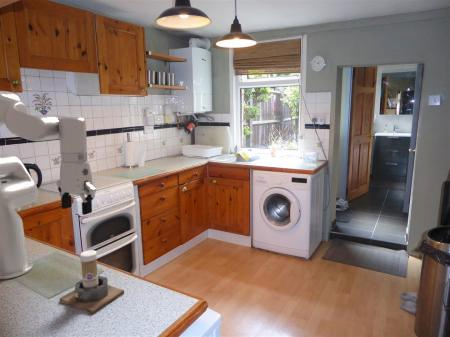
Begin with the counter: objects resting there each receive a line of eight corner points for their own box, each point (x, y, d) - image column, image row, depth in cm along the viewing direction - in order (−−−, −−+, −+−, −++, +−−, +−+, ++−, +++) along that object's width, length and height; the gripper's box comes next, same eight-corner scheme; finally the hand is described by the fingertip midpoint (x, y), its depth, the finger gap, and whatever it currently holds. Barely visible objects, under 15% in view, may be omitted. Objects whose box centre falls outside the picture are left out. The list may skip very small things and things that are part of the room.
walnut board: (59, 301, 99) (59, 298, 98) (92, 282, 109) (92, 279, 109) (93, 314, 92) (92, 311, 92) (124, 293, 103) (123, 290, 103)
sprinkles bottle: (85, 300, 98) (81, 257, 95) (82, 292, 101) (78, 251, 99) (101, 295, 100) (98, 253, 98) (97, 288, 104) (94, 248, 101)
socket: (66, 299, 98) (65, 288, 97) (96, 282, 107) (95, 272, 107) (88, 307, 94) (87, 296, 93) (116, 289, 103) (115, 278, 103)
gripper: (103, 159, 101) (105, 212, 104) (66, 153, 109) (69, 203, 112) (82, 162, 94) (85, 219, 97) (45, 155, 102) (48, 208, 106)
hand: (76, 210), depth 105 cm, fingers open, 9 cm apart
